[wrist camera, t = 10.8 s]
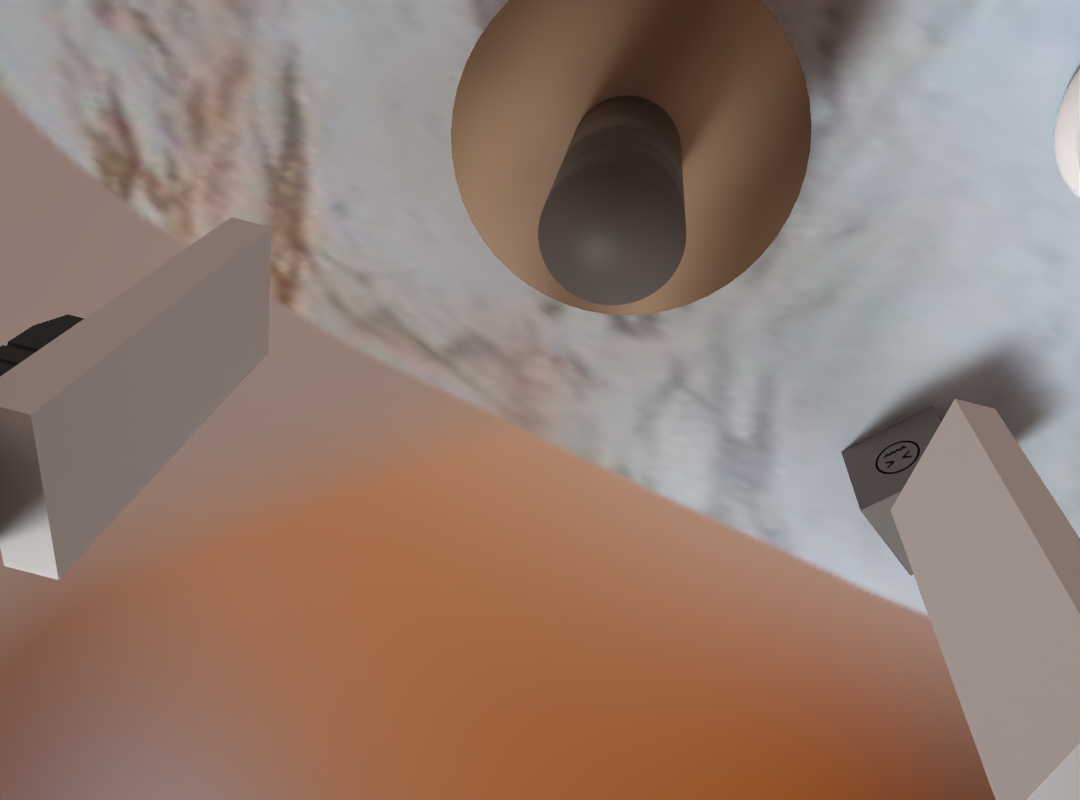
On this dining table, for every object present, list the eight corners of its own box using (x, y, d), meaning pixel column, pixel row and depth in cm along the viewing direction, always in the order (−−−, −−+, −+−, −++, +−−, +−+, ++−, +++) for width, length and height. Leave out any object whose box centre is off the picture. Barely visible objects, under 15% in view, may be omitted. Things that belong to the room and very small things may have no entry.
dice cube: (886, 512, 45) (910, 575, 40) (841, 451, 43) (860, 510, 39) (975, 471, 43) (1010, 533, 38) (931, 405, 41) (962, 462, 37)
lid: (865, -2, 27) (960, 39, 18) (737, 335, 34) (761, 480, 25) (488, -94, 27) (404, -97, 18) (437, 261, 34) (358, 380, 25)
